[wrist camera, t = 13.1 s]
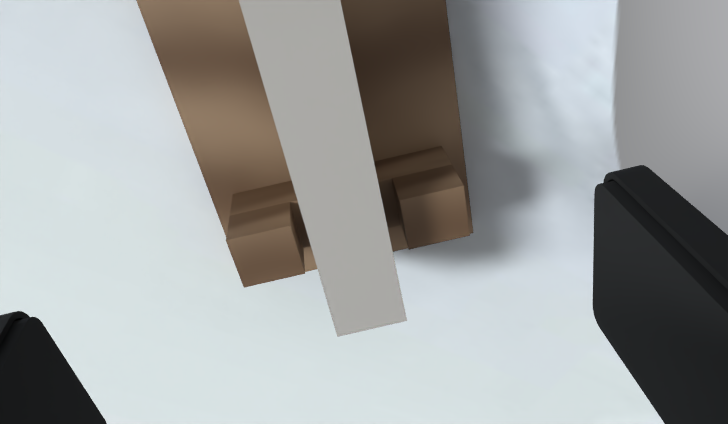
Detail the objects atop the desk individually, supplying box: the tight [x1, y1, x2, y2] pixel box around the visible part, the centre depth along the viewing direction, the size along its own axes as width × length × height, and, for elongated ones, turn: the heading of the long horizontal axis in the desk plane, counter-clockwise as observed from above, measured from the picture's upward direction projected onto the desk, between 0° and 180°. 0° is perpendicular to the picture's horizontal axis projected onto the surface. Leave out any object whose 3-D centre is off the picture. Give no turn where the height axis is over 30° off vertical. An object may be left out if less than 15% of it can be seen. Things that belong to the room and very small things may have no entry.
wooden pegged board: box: [136, 0, 473, 287], centre depth 24 cm, size 22×12×5 cm, turn 11°
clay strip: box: [239, 0, 407, 337], centre depth 22 cm, size 20×3×4 cm, turn 11°
